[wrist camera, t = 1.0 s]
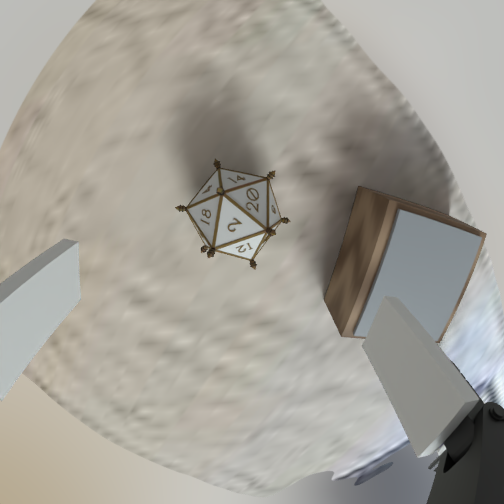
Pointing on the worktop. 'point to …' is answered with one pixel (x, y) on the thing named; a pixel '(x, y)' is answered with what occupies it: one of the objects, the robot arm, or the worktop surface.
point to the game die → (235, 213)
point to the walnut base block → (401, 264)
